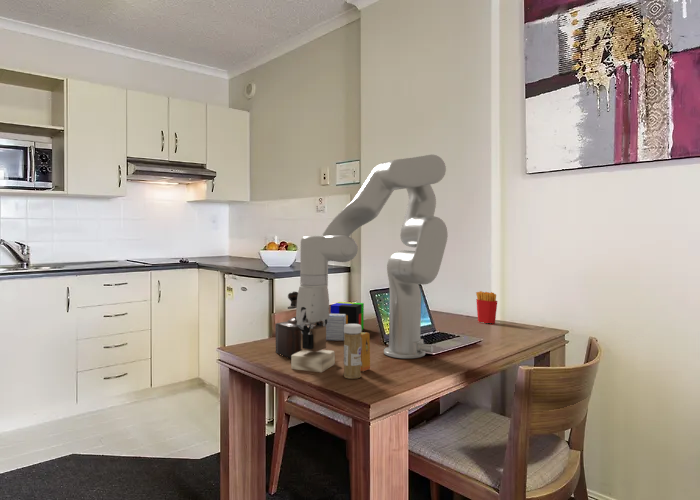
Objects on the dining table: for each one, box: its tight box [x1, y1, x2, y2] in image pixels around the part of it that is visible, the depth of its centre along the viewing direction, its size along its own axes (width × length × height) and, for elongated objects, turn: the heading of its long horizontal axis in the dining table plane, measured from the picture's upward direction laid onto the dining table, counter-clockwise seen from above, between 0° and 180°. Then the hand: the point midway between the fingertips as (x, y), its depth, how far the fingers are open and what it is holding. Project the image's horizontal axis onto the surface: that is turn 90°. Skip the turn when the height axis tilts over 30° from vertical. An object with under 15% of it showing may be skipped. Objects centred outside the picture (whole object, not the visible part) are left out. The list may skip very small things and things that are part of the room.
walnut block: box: [301, 325, 327, 352], centre depth 135 cm, size 5×5×6 cm
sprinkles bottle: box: [343, 324, 363, 380], centre depth 125 cm, size 5×5×14 cm
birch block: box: [290, 349, 336, 373], centre depth 135 cm, size 9×9×4 cm
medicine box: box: [326, 313, 346, 342], centre depth 169 cm, size 8×4×9 cm, turn 84°
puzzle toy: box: [330, 301, 365, 330], centre depth 185 cm, size 10×10×10 cm
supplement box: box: [360, 331, 371, 373], centre depth 132 cm, size 3×3×10 cm
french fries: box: [475, 290, 498, 324], centre depth 203 cm, size 9×4×13 cm, turn 41°
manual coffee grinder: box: [274, 291, 315, 359], centre depth 151 cm, size 16×11×18 cm
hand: (313, 345), depth 135 cm, fingers closed on walnut block, 4 cm apart
